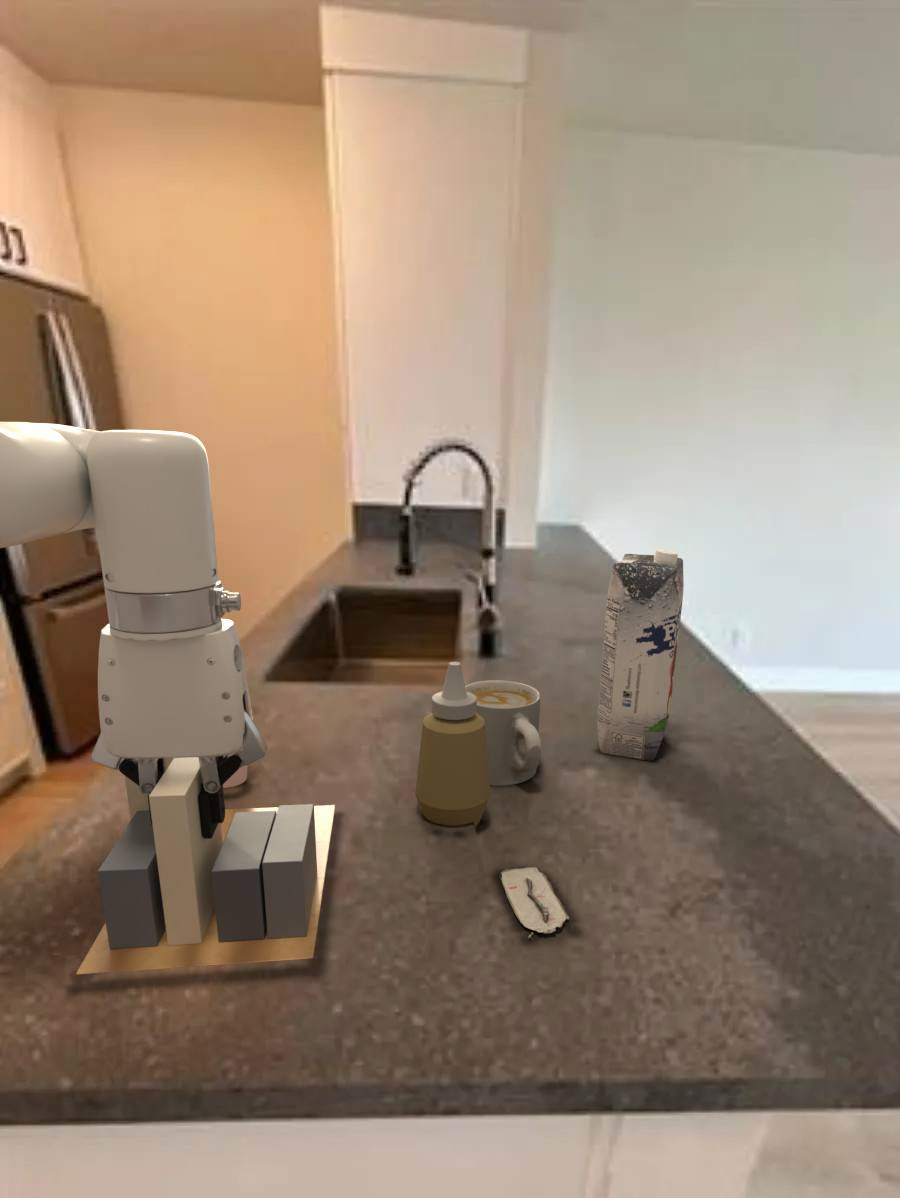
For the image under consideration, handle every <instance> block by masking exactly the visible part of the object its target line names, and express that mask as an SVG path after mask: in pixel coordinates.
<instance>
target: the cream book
mask: <svg viewBox="0 0 900 1198" xmlns="http://www.w3.org/2000/svg"><path fill="white" fill-rule="evenodd" d="M202 782H203V781H202V775H201V769H200V763H199V757H188V758H174V759H173V760H172V762H171V763H170V765H169V766H168V768H167V769H166V771H165V773H164V774H163V776H162V777H161V779H160V780H159V782H158V783H157V785H156V786H155V788H154V789H153V791H152V792H151V794H150V795H149V801H150V809H151V817H152V824H153V832H154V840H155V848H156V855H157V863H158V871H159V879H160V886H161V894H162V902H163V910H164V918H165V925H166V933H167V941H168V945H185V944H200V943H202V940H203V938H204V935H205V932H206V930H207V927H208V924H209V921H210V919H211V916H212V913H213V910H214V908H215V902H214V892H213V883H212V873H211V871H212V869H213V866H214V864H215V861H216V859H217V856H218V854H219V851H220V849H221V846H222V844H223V841H222V831H221V823H218V825H217V828H216V830H215V832H214V834H213V837H212V838H211V839H204V837H202V833H201V823H200V814H199V804H198V795H199V793H200V791H201V789H202V786H201V784H202Z"/></svg>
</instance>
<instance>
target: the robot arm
mask: <svg viewBox="0 0 900 1198" xmlns="http://www.w3.org/2000/svg"><path fill="white" fill-rule="evenodd" d="M210 477H211V476H210V466H209V458H208V453H207V449H206V448H205V446H204V444H203V443H202V442H201V440H200V439H198V438H197V437H196V436H195V435H192V434H189V433H187V432H181V431H171V430H170V431H169V430H150V429H148V430H147V429H110V430H109V429H108V430H102V431H99V430H94V429H88V428H83V427H77V426H72V425H64V424H59V423H48V422H45V423H44V422H27V421H0V549H3V548H5V549H6V548H9V547H14V546H20V545H24V544H27V543H30V542H34V541H38V540H42V539H46V538H48V537H49V538H50V537H55V536H60V535H64V534H68V533H72V532H77V531H81V530H87V529H95V530H96V538H97V544H98V551H99V558H100V567H101V573H102V580H103V587H104V588H103V589H104V594H105V603H106V610H107V616H108V617H107V618H108V623H107V624H105V626H104V627H102V629H101V630H100V637H99V645H98V646H99V647H98V660H97V661H98V662H97V663H98V664H97V666H98V667H97V700H98V701H97V702H98V704H97V705H98V716H99V717H98V718H99V726H100V733H99V735H98V738H97V741H96V743H95V745H94V747H93V750H92V752H91V755H90V758H91V761H92V762H93V763H95V764H98V765H101V766H103V767H106V768H108V769H111V770H114V771H116V770H117V771H119V772H120V773H121V774H122V775H123V776H124V777H125V776H126V777H127V778H129V779H130V780H132V781H133V782H134V783H136V784H137V785H138V786H140V791H141V793H143V794H144V795H147V796H148V804H149V811H150V819H151V825H152V826H153V824H152V817H151V809H150V801H149V795H150V794H151V792H152V791H153V789H154V788H155V786H156V785H157V783H158V782H159V780H160V779H161V777H162V776H163V774H164V773H165V771H166V758H188V757H199V763H200V769H201V775H202V781H203V782H202V784H201V786H202V789H201V791H200V793H199V795H198V804H199V814H200V823H201V833H202V837H204V839H211V838H212V837H213V834H214V832H215V830H216V828H217V825H218V823H223V821H224V819H225V809H226V803H225V792H224V788H223V784H224V783H225V782H226V781H227V780H228V779H229V778H230V777H231V776H232V775H233V774H234V773H235V772H236V771H237V770H238V769H239V768H241V767H243V766H246V765H250V764H253V763H254V762H257V761H259V760H261V759H264V757H265V756H266V753H267V750H268V744H267V742H266V740H265V739H264V737H263V735H262V734H261V732H260V731H259V729H258V728H257V726H256V725H255V723H254V721H253V720H252V716H253V710H252V711H251V709H252V704H251V695H250V690H249V683H248V677H247V676H248V675H247V671H246V665H245V660H244V656H243V655H244V654H243V649H242V646H241V642H240V638H239V634H238V632H237V628H236V626H235V623H234V621H233V620H231V619H228V618H223V616H225V614H227V613H228V614H230V612H240V611H241V609H242V608H241V607H242V598H241V594H240V592H230V591H229V590H225V588H224V587H223V585H222V581H221V580H219V571H218V559H217V549H216V547H217V546H216V533H215V526H214V525H215V524H214V523H215V522H214V512H213V511H214V510H213V499H212V489H211V488H212V487H211V478H210ZM242 745H243V746H242ZM225 755H226V756H225Z"/></svg>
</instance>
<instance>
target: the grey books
mask: <svg viewBox="0 0 900 1198" xmlns="http://www.w3.org/2000/svg"><path fill="white" fill-rule="evenodd" d="M314 806H315V804H314V803H307V804H303V803H302V804H282V805H278V811H277V814H276V811H256V812H235V814H234V817H233V819H232V822H231V824H230V827H229V829H228V832H227V834H226V836H225V839H224V841H223V844H222V846H221V849H220V851H219V854H218V856H217V859H216V861H215V864H214V866H213V869H212V871H211V873H212V883H213V892H214V902H215V912H216V922H217V931H218V941H219V942H229V941H244V940H260V939H264V938H265V935H266V930H267V933H268V939H278V938H293V937H306V936H307V931H308V925H309V919H310V913H311V907H312V901H313V895H314V889H315V883H316V877H317V856H316V836H315V816H314ZM97 878H98V883H99V890H100V897H101V903H102V909H103V914H104V921H105V922H106V928H107V935H108V941H109V947H110V949H122V948H138V947H153V946H158V944H159V942H160V939H161V937H162V935H163V933H164V930H165V928H166V925H165V918H164V910H163V902H162V894H161V886H160V879H159V871H158V863H157V855H156V848H155V840H154V832H153V826H152V825H151V819H150V811H149V810H147V811H137V812H136V813H135V815H134V816H133V818H132V820H131V819H130V821H129V822H128V824H127V825H126V826H125V829H124V830H123V831H122V833H121V835H120V836H119V837H118V839H117V841H116V842H115V843H114V845H113V847H112V849H111V850H110V852H109V853H108V854H107V856H106V857H105V858H104V861H103V862H102V863H101V865H100V866H99V868H98V869H97ZM105 922H104V923H105Z"/></svg>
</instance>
